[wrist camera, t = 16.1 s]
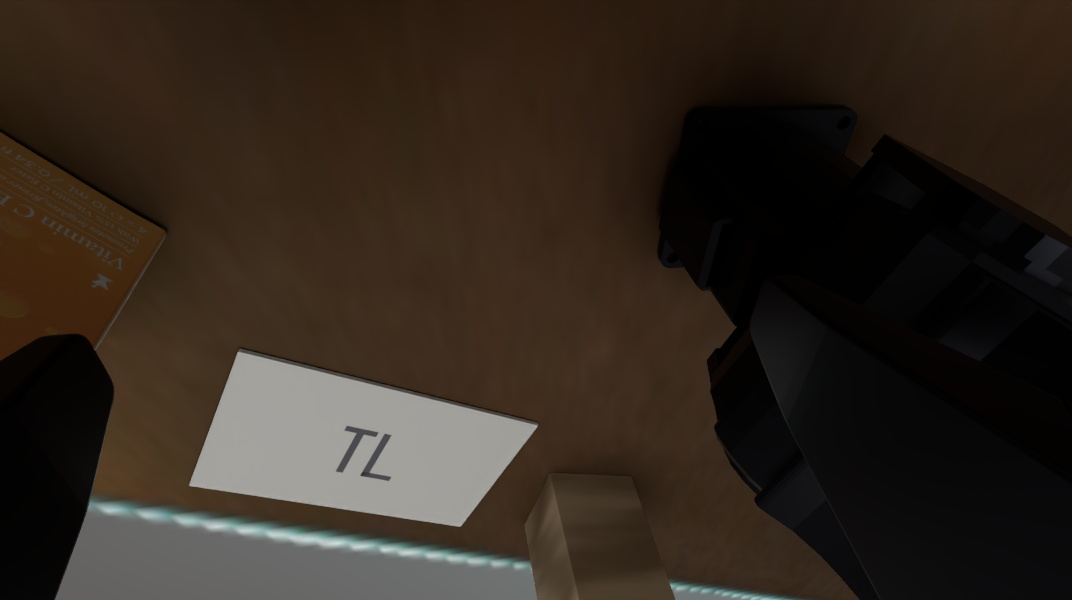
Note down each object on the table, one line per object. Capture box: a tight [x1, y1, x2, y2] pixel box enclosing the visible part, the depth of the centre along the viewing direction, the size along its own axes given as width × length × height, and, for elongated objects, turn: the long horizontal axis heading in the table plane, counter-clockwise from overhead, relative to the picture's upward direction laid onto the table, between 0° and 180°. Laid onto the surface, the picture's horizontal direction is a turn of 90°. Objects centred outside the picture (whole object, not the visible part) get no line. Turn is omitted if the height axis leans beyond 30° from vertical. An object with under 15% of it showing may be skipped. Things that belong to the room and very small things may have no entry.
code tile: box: [189, 348, 538, 527], centre depth 29 cm, size 14×9×1 cm, turn 60°
